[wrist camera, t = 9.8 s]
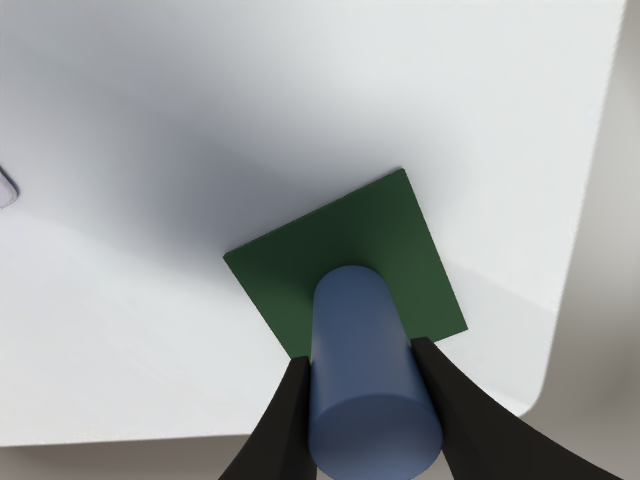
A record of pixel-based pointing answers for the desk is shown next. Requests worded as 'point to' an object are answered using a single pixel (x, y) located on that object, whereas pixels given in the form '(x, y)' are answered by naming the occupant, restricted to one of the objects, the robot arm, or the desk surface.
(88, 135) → the desk surface
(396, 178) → the mat
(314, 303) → the peg
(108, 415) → the desk surface
